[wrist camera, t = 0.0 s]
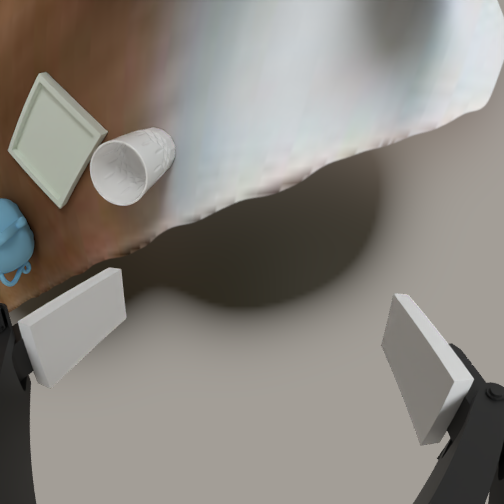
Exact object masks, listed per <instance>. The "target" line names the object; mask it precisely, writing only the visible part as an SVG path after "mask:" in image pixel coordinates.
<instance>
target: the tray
mask: <svg viewBox="0 0 504 504" xmlns="http://www.w3.org/2000/svg"><path fill="white" fill-rule="evenodd" d="M107 133H108V131H107V130H106V129H104V128H103V127H102V126H101V125H100V124H99V123H98V122H97V121H96V120H95V119H94V118H93V117H92V116H91V115H90V114H89V113H88V112H87V111H86V110H85V109H84V108H83V107H82V106H81V105H80V104H79V103H78V102H77V101H76V100H74V99H73V98H72V97H71V96H70V95H69V94H68V93H67V92H66V91H65V90H64V89H63V88H62V87H61V86H60V85H59V84H58V83H57V82H56V81H55V80H54V79H53V78H52V77H51V76H50V75H49V74H48V73H47V72H44V73H39V74H38V76H37V78H36V80H35V83H34V85H33V87H32V89H31V91H30V93H29V96H28V98H27V100H26V103H25V105H24V107H23V110H22V112H21V115H20V117H19V120H18V123H17V125H16V128H15V131H14V134H13V137H12V139H11V142H10V145H9V149H8V152H9V153H10V154H11V155H12V156H13V158H14V159H15V160H16V161H17V162H18V163H19V165H20V166H21V167H22V168H23V169H24V170H25V171H26V173H27V174H28V175H29V176H30V177H31V178H32V179H33V180H34V181H35V183H36V184H37V185H38V186H39V187H40V188H41V189H42V190H43V191H44V192H45V193H46V194H47V195H48V197H49V198H50V199H51V200H52V201H53V202H54V203H55V204H56V205H57V206H58V207H59V208H60V209H61V208H62V207H63V206H64V205H66V204H67V202H68V200H69V198H70V196H71V194H72V192H73V190H74V188H75V186H76V184H77V183H78V181H79V179H80V177H81V175H82V174H83V172H84V170H85V168H86V167H87V165H88V163H89V162H90V160H91V158H92V156H93V153H94V152H95V150H96V149H97V148H98V147H99V145H100V144H101V142H102V141H103V139H104V137H105V136H106V134H107Z"/></svg>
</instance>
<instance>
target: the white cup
mask: <svg viewBox="0 0 504 504" xmlns="http://www.w3.org/2000/svg"><path fill="white" fill-rule="evenodd" d="M174 159H175V145H174V142H173V140H172V138H171V136H170V135H169V134H167V133H166V132H165V131H164V130H162V129H159V128H155V127H151V128H146V129H142V130H138V131H135V132H131V133H129V134H125V135H123V136H120V137H117V138H115V139H112V140H110V141H107V142H105V143H103V144H101V145H100V146H99V147H98V148H97V149H96V150H95V152H94V153H93V156H92V158H91V162H90V175H91V179H92V182H93V184H94V186H95V188H96V190H97V191H98V193H99V194H100V195H101V196H102V197H103V198H104V199H106V200H107V201H109V202H110V203H112V204H115V205H119V206H127V205H131V204H134V203H135V202H137V201H138V200H139V199H140V198H141V197H142V196H143V195H144V194H145V193H146V192H147V191H148V190H149V189H150V188H151V187H152V186H153V185H154V184H155V183H156V182H157V181H158V179H159V178H160V177H161V176H162V175H163V174H164V173H165V171H166V170H167V169H168V168H169V167H170V166H171V165H172V163H173V161H174Z"/></svg>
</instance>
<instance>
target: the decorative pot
mask: <svg viewBox="0 0 504 504" xmlns="http://www.w3.org/2000/svg"><path fill="white" fill-rule="evenodd" d="M33 237H34V235H33V232H32V231H31V229H30V227H29V225H28V223H27V221H26V218H25V217H24V216H23V214H22V213H21V211H20V210H19V208H18V206H17V204H15V203H13V202H12V201H11V200H9V199H3V198H0V280H1V281H2V283H3V284H5V285H6V286H14V285H15V284H16V283H17V282H18V280H19V278H20V276H21V273H22V272H23V273H25V274H27V273H29V272H30V270H31V265H30V262H29V261H28V260H29V259H30V258H31V256H32V254H33V250H34V238H33ZM25 266H26V268H27V269H26V270H25V269H24V267H25ZM17 268H18V271H17V273H16V275H15V277H14V279H13V280H12V281H11V282H9V281H8V280H6V278H5V277H4V274H5V273H9V272H11V271H14V270H16V269H17Z"/></svg>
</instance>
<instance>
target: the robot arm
mask: <svg viewBox="0 0 504 504" xmlns="http://www.w3.org/2000/svg"><path fill="white" fill-rule="evenodd" d="M121 273H122V272H121V269H117V268H108V269H106V270H104V271H102V272H100V273H99V274H97V275H95V276H93V277H92V278H90V279H88V280H86V281H84V282H83V283H81V284H79V285H77V286H76V287H74V288H72V289H70V290H69V291H67V292H65V293H64V294H62V295H60V296H59V297H57V298H56V299H54V300H52V301H50V302H49V303H47V304H45V305H44V306H42V307H41V308H39V309H37V310H35V311H34V312H32V313H31V314H29V315H28V316H26V317H24V318H22V319H21V320H19V321H18V323H17V324H15V325H14V326H12V324H11V321H10V317H9V313H8V309H7V306H6V305H5V304H3V303H0V504H36V499H35V493H34V485H33V476H32V466H31V453H30V390H31V381H30V378H29V374H30V373H31V372H32V371H34V374H35V377H36V379H37V382H38V383H39V384H41V385H43V386H45V387H47V388H49V389H51V388H52V387H53V386H54V385H55V384H56V383H57V382H58V381H59V380H60V379H61V378H62V377H64V376H65V375H66V374H67V373H68V372H69V371H70V370H71V369H72V368H73V367H74V366H75V365H76V364H77V363H78V362H79V361H80V360H81V359H83V358H84V357H85V356H86V355H87V354H88V353H89V352H90V351H91V350H92V349H93V348H94V347H95V346H97V345H98V344H99V343H100V342H101V341H102V340H103V339H104V338H105V337H106V336H107V335H108V334H110V333H111V332H112V331H113V330H114V329H115V328H116V327H117V326H118V325H119V324H120V323H122V322H123V321H124V320H125V319H126V310H125V302H124V294H123V283H122V274H121ZM381 346H382V348H383V351H384V353H385V355H386V358H387V360H388V362H389V365H390V367H391V369H392V372H393V374H394V377H395V379H396V382H397V384H398V386H399V389H400V391H401V394H402V397H403V399H404V402H405V404H406V407H407V409H408V412H409V415H410V417H411V420H412V423H413V426H414V428H415V431H416V434H417V436H418V439H419V442H420V445H427V444H433V443H439V442H440V441H441V439H442V438H443V436H444V434H445V433H446V431H448V433H449V435H450V440H449V441H448V443H447V445H446V446H445V448H444V449H443V451H442V452H441V453H440V455H439V456H438V458H437V459H439V460H438V462H437V464H436V466H435V468H434V470H433V471H432V473H431V475H430V477H429V479H428V480H427V482H426V484H425V485H424V487H423V489H422V490H421V492H420V493H419V495H418V497H417V498H416V500H415V502H414V503H413V504H485V502H486V499H487V496H488V493H489V491H490V493H489V502H488V504H504V387H503V386H501V385H499V384H496V383H486V382H485V381H484V379H483V378H482V376H481V375H480V374H479V372H478V371H477V370H476V369H475V367H474V366H473V365H471V362H470V361H469V359H467V357H466V355H465V354H464V353H463V352H462V350H461V349H459V348H458V347H456V346H455V345H453V344H448V343H447V342H446V340H445V339H444V338H443V337H442V335H441V334H440V333H439V331H438V330H437V329H436V328H435V326H434V325H433V324H432V323H431V322H430V320H429V319H428V318H427V317H426V315H425V314H424V313H423V312H422V310H421V309H420V308H419V307H418V306H417V305H416V303H415V302H414V301H413V300H412V299H411V297H410V296H409V295H408V294H393V298H392V303H391V307H390V312H389V316H388V321H387V324H386V328H385V333H384V336H383V340H382V344H381Z"/></svg>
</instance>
